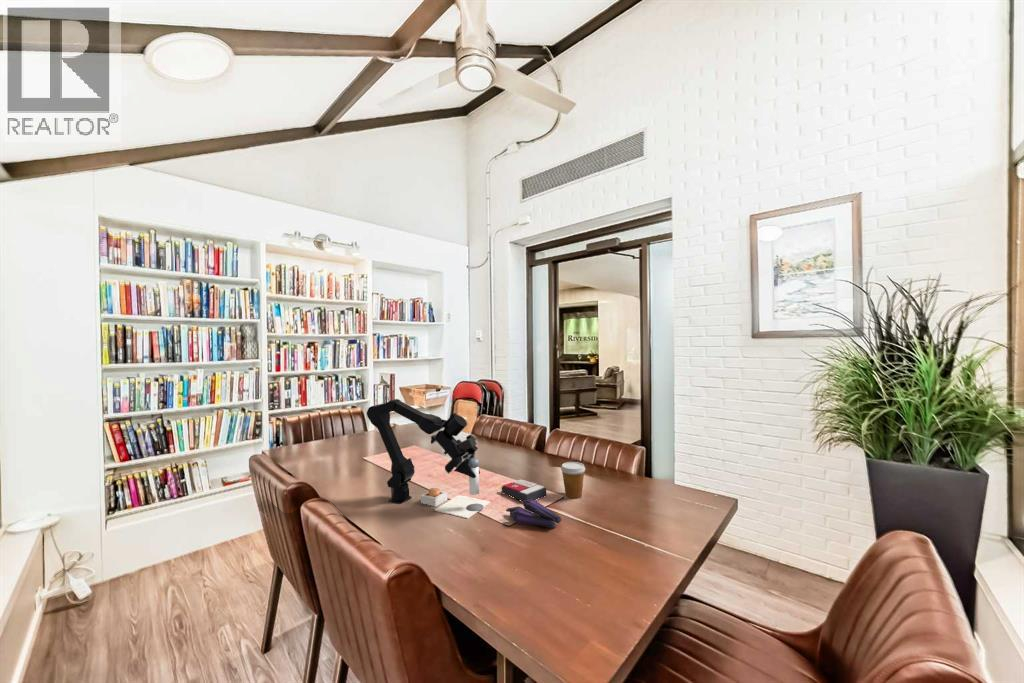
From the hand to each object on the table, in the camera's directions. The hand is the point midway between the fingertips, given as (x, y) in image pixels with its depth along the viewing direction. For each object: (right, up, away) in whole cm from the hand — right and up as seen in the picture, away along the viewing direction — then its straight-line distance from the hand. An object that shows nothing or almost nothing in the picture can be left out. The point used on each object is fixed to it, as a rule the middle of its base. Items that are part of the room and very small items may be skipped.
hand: (477, 475), depth 149 cm
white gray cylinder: (-1, -7, 0) cm, 7 cm away
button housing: (-17, -13, +8) cm, 23 cm away
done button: (-17, -11, +8) cm, 22 cm away
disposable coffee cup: (+37, -12, +10) cm, 40 cm away
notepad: (-6, -13, +3) cm, 14 cm away
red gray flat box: (+18, -12, +13) cm, 25 cm away
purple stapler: (+20, -12, -11) cm, 26 cm away
